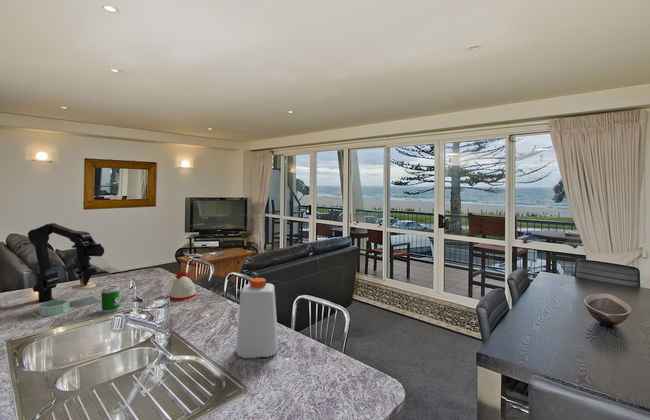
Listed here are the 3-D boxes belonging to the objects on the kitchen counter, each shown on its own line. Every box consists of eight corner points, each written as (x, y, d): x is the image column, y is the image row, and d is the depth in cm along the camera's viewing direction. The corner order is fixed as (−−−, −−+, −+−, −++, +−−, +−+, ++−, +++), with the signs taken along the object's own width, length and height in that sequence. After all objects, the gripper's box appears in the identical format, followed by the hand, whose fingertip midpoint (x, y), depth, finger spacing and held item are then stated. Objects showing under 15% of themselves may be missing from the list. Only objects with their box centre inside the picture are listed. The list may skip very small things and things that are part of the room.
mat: (65, 303, 176) (65, 302, 176) (91, 297, 186) (91, 296, 186) (76, 308, 168) (76, 308, 168) (102, 302, 178) (102, 301, 178)
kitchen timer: (165, 296, 188) (165, 271, 187) (188, 291, 199) (188, 266, 198) (176, 302, 179) (176, 275, 178) (200, 296, 190) (200, 270, 189)
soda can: (111, 314, 161) (110, 290, 161) (98, 312, 163) (97, 289, 162) (123, 308, 169) (122, 286, 168) (111, 307, 170) (110, 284, 169)
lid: (68, 287, 175) (68, 279, 174) (91, 283, 183) (90, 275, 183) (76, 291, 169) (76, 283, 169) (99, 286, 178) (99, 278, 177)
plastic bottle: (241, 340, 136) (241, 274, 134) (278, 340, 137) (279, 274, 135) (234, 360, 121) (234, 285, 119) (275, 359, 122) (276, 285, 120)
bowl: (36, 313, 161) (35, 304, 161) (64, 306, 171) (64, 298, 170) (44, 318, 155) (43, 309, 155) (73, 311, 164) (72, 302, 164)
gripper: (57, 256, 173) (58, 285, 174) (71, 261, 163) (72, 291, 164) (82, 252, 183) (83, 280, 184) (97, 257, 172) (98, 286, 173)
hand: (83, 284), depth 176 cm, fingers closed on lid, 3 cm apart
